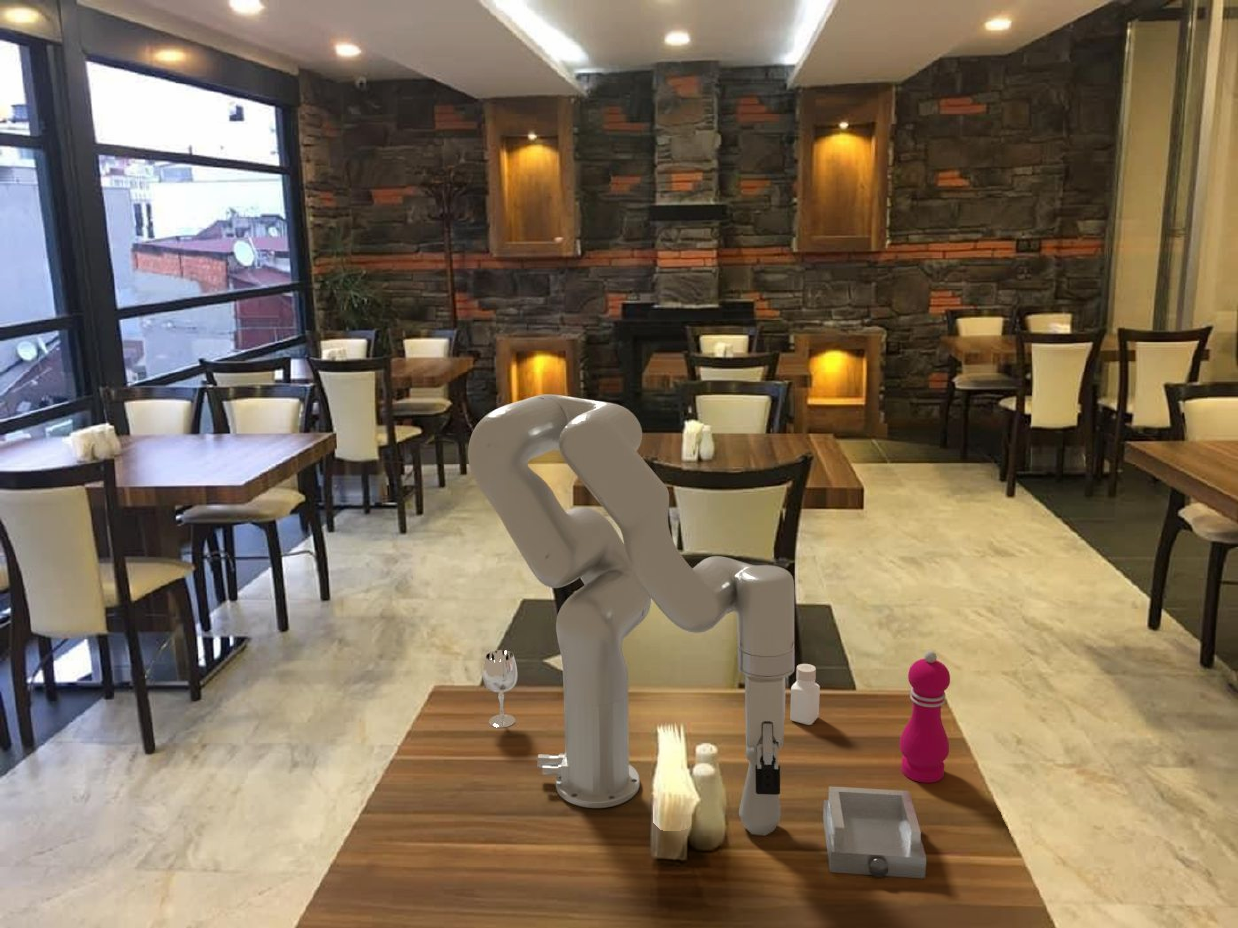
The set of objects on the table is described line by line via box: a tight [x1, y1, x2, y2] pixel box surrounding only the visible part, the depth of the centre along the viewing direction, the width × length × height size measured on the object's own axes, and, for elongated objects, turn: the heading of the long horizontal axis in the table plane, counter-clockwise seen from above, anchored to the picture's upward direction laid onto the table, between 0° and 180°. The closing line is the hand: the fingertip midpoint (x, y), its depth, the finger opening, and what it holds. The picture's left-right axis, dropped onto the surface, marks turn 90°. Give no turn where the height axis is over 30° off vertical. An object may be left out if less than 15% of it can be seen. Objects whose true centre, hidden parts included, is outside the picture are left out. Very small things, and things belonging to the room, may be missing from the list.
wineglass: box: [482, 649, 518, 729], centre depth 169 cm, size 6×6×12 cm
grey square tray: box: [822, 786, 927, 880], centre depth 134 cm, size 12×13×6 cm
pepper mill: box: [899, 650, 951, 784], centre depth 151 cm, size 7×7×20 cm
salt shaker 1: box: [738, 740, 782, 837], centre depth 139 cm, size 6×6×13 cm
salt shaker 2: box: [789, 663, 821, 726], centre depth 169 cm, size 4×4×10 cm
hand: (767, 773), depth 138 cm, fingers open, 9 cm apart
